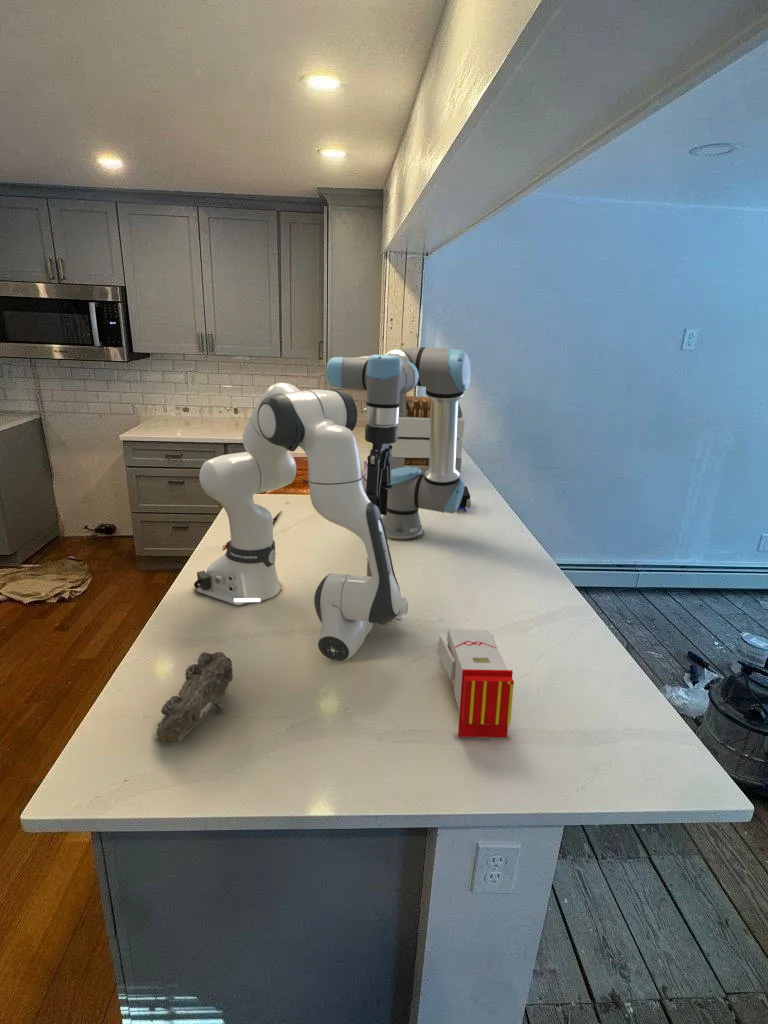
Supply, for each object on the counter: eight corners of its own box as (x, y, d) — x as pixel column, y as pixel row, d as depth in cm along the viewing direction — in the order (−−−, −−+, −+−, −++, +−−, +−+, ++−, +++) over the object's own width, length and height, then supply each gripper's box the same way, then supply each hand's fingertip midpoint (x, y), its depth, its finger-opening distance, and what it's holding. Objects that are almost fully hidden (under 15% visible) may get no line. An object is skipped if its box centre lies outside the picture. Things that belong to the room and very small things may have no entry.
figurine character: (470, 516, 223) (465, 500, 237) (473, 499, 220) (467, 484, 233) (453, 516, 223) (449, 500, 236) (455, 498, 220) (451, 483, 233)
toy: (488, 613, 130) (523, 677, 101) (484, 667, 133) (517, 744, 104) (435, 612, 130) (455, 676, 101) (432, 666, 133) (451, 743, 103)
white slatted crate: (382, 463, 289) (386, 382, 275) (445, 464, 293) (451, 384, 279) (390, 482, 257) (394, 392, 243) (460, 483, 261) (468, 394, 247)
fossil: (183, 653, 120) (233, 621, 115) (215, 683, 122) (265, 653, 117) (132, 735, 100) (190, 701, 95) (171, 768, 103) (229, 737, 98)
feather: (288, 505, 226) (290, 501, 226) (271, 529, 199) (273, 524, 199) (284, 503, 226) (287, 499, 225) (266, 526, 199) (269, 522, 199)
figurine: (365, 500, 232) (366, 464, 227) (354, 493, 241) (355, 458, 236) (385, 497, 237) (387, 463, 231) (374, 490, 245) (375, 457, 240)
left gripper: (401, 610, 130) (415, 584, 142) (318, 595, 135) (339, 571, 148) (399, 634, 132) (414, 607, 144) (318, 618, 137) (339, 592, 150)
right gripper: (377, 416, 140) (373, 504, 148) (353, 430, 123) (350, 529, 130) (406, 419, 138) (401, 508, 146) (386, 433, 121) (382, 534, 129)
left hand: (375, 588), depth 146 cm, fingers closed on bottle, 4 cm apart
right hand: (377, 518), depth 138 cm, fingers open, 6 cm apart
